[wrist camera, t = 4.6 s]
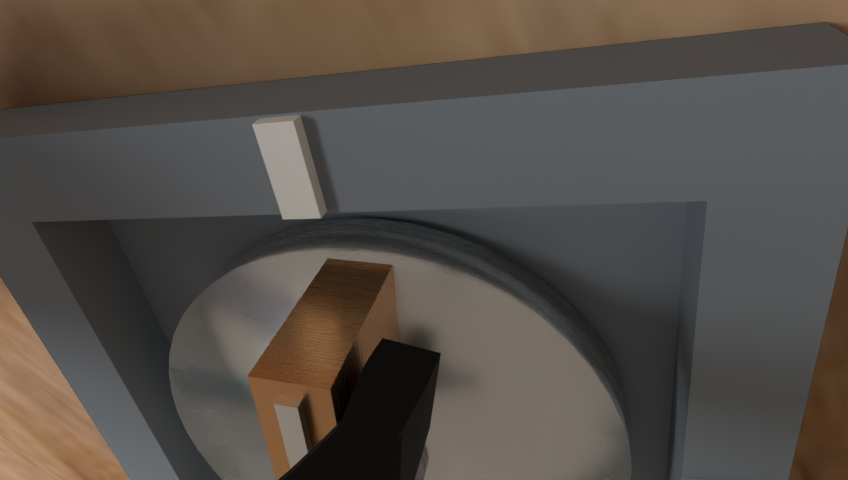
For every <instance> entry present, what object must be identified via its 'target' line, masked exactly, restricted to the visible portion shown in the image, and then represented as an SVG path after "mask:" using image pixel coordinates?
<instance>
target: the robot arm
mask: <svg viewBox="0 0 848 480" xmlns="http://www.w3.org/2000/svg"><path fill="white" fill-rule="evenodd" d="M440 356H441V353H439V352H435V351H431V350H427V349H423V348H419V347H416V346H412V345H408V344H404V343H400V342H396V341H392V340H388V339H385V338H382V339H381V341H380V342H379V344H378V345H377V347H376V348H375V349H374V351H373V352H372V354H371V356H370V357H369V359H368V360H367V362H366V363H365V365H364V367H363V369H362V371H361V374H360V376H359V378H358V381H357V383H356V386H355V388H354V390H353V393H352V395H351V397H350V400H349V402H348V405H347V407H346V410H345V412H344V414H343V417H342V419H341V421H340V422H339V423H338V424H337V425H336V426H335V427H334V428H333V429H332V430H331V431H330V432H329V433H328V434H327V435H326V436H325V437H324V438H323V439H322V440H321V441H320V442H319V443H318V444H317V445H315V446H314V447H313V448H312V449H311V450H310V451H309V452H308V453H307V454H306V455H305V456H304V457H303V458H302V459H301V460H300V461H299V462H297V463H296V464H295V465H294V466H293V467H292V468H291V469H290V470H289V471H287V472H286V473H285V474H284V475H283V476H282V477H281V478H279V479H278V480H415V477H416V474H417V470H418V467H419V463H420V460H421V457H422V453H423V450H424V446H425V443H426V439H427V436H428V432H429V429H430V423H431V416H432V410H433V403H434V396H435V390H436V383H437V376H438V370H439V363H440Z"/></svg>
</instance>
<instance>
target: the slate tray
mask: <svg viewBox="0 0 848 480" xmlns="http://www.w3.org/2000/svg"><path fill="white" fill-rule="evenodd" d="M343 218H361V219H383V220H390V221H397V222H404V223H411V224H416V225H420V226H424V227H428V228H432V229H436V230H439V231H443V232H447V233H450V234H453V235H456V236H458V237H461V238H463V239H466V240H469V241H471V242H474V243H477V244H479V245H482V246H484V247H486V248H488V249H490V250H492V251H494V252H496V253H498V254H500V255H502V256H503V257H505V258H507V259H509V260H511V261H513V262H515V263H517V264H518V265H520V266H521V267H523V268H524V269H526V270H527V271H529V272H530V273H532V274H533V275H535V276H536V277H538V278H539V279H541V280H542V281H544V282H545V283H546V284H547V285H548V286H550V287H551V288H552V289H553V290H554V291H556V292H557V293H558V294H559V295H560V296H561V297H563V298H564V299H565V300H566V301H567V302H569V303H570V304H571V305H572V307H573V308H574V309H575V310H576V311H577V312H578V313H579V314H580V315H581V316H582V318H583V319H584V320H585V321H586V322H587V323H588V324H589V325H590V326H591V328H592V329H593V330H594V332H595V333H596V335H597V336H598V338H599V339H600V341H601V342H602V344H603V345H604V347H605V348H606V349H607V351H608V353H609V355H610V357H611V359H612V361H613V363H614V365H615V367H616V370H617V372H618V374H619V376H620V379H621V383H622V386H623V390H624V393H625V397H626V402H627V412H628V423H629V438H630V452H631V467H632V474H631V480H789V476H790V471H791V467H792V463H793V459H794V454H795V450H796V446H797V442H798V437H799V433H800V429H801V425H802V420H803V416H804V412H805V408H806V403H807V399H808V395H809V391H810V386H811V382H812V378H813V374H814V369H815V365H816V361H817V357H818V352H819V348H820V344H821V340H822V335H823V331H824V327H825V323H826V319H827V314H828V310H829V306H830V302H831V297H832V293H833V289H834V285H835V280H836V276H837V272H838V268H839V263H840V259H841V255H842V251H843V246H844V242H845V238H846V234H847V229H848V36H847V35H845V34H844V33H842V32H841V31H839V30H838V29H836V28H834V27H833V26H831V25H830V24H828V23H827V22H823V23H813V24H804V25H794V26H785V27H775V28H766V29H756V30H747V31H738V32H728V33H719V34H709V35H700V36H690V37H681V38H671V39H662V40H653V41H643V42H634V43H624V44H615V45H605V46H596V47H586V48H577V49H568V50H558V51H549V52H539V53H530V54H520V55H511V56H501V57H492V58H483V59H473V60H464V61H454V62H445V63H435V64H426V65H417V66H407V67H398V68H388V69H379V70H369V71H360V72H350V73H341V74H332V75H322V76H313V77H303V78H294V79H284V80H275V81H265V82H256V83H247V84H237V85H228V86H218V87H209V88H199V89H190V90H180V91H171V92H162V93H152V94H143V95H133V96H124V97H114V98H105V99H95V100H86V101H77V102H67V103H58V104H48V105H39V106H29V107H20V108H10V109H5V110H3V111H0V277H1V278H2V280H3V281H4V283H5V284H6V286H7V288H8V289H9V291H10V292H11V294H12V295H13V297H14V298H15V300H16V302H17V303H18V305H19V306H20V308H21V309H22V311H23V313H24V314H25V316H26V317H27V319H28V320H29V322H30V323H31V325H32V327H33V328H34V330H35V331H36V333H37V334H38V336H39V338H40V339H41V341H42V342H43V344H44V345H45V347H46V349H47V350H48V352H49V353H50V355H51V356H52V358H53V359H54V361H55V363H56V364H57V366H58V367H59V369H60V370H61V372H62V374H63V375H64V377H65V378H66V380H67V381H68V383H69V384H70V386H71V388H72V389H73V391H74V392H75V394H76V395H77V397H78V399H79V400H80V402H81V403H82V405H83V406H84V408H85V410H86V411H87V413H88V414H89V416H90V417H91V419H92V420H93V422H94V424H95V425H96V427H97V428H98V430H99V431H100V433H101V435H102V436H103V438H104V439H105V441H106V442H107V444H108V446H109V447H110V449H111V450H112V452H113V453H114V455H115V456H116V458H117V460H118V461H119V463H120V464H121V466H122V467H123V469H124V471H125V472H126V474H127V475H128V477H129V478H130V480H222V479H221V478H220V477H219V476H218V474H217V473H216V472H215V471H214V470H213V469H212V468H211V467H210V465H209V464H208V463H207V461H206V460H205V459H204V458H203V456H202V455H201V454H200V452H199V451H198V450H197V448H196V446H195V445H194V443H193V441H192V440H191V438H190V437H189V435H188V433H187V432H186V430H185V427H184V425H183V423H182V421H181V419H180V417H179V414H178V412H177V409H176V406H175V402H174V399H173V396H172V392H171V385H170V379H169V353H170V349H171V344H172V340H173V335H174V333H175V331H176V328H177V326H178V324H179V322H180V320H181V317H182V316H183V314H184V313H185V312H186V310H187V309H188V308H189V306H190V305H191V304H192V302H193V301H194V300H195V298H196V297H197V296H198V295H199V294H200V293H201V292H202V291H203V290H204V289H205V288H206V287H207V285H208V284H209V283H210V282H211V281H212V280H213V279H214V278H215V277H216V276H217V275H218V274H219V273H220V271H221V270H222V269H223V268H224V267H225V266H226V265H227V264H228V263H229V262H230V261H232V260H233V259H234V258H235V257H236V256H237V255H238V254H239V253H241V252H242V251H243V250H244V249H246V248H248V247H249V246H251V245H253V244H254V243H256V242H257V241H259V240H261V239H262V238H264V237H267V236H269V235H272V234H274V233H277V232H279V231H282V230H284V229H287V228H290V227H294V226H298V225H302V224H306V223H311V222H315V221H323V220H333V219H343Z"/></svg>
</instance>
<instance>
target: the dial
mask: <svg viewBox="0 0 848 480" xmlns="http://www.w3.org/2000/svg"><path fill="white" fill-rule="evenodd" d="M382 338H385V339H388V340H392V341H396V342H400V343H404V344H408V345H412V346H416V347H419V348H423V349H427V350H431V351H435V352H439V353H441V356H440V363H439V370H438V376H437V383H436V390H435V396H434V403H433V410H432V416H431V423H430V429H429V432H428V436H427V439H426V443H425V446H424V450H423V453H422V457H421V460H420V463H419V467H418V470H417V474H416V477H415V480H631V474H632V467H631V452H630V438H629V423H628V412H627V402H626V397H625V393H624V390H623V386H622V383H621V379H620V376H619V374H618V372H617V370H616V367H615V365H614V363H613V361H612V359H611V357H610V355H609V353H608V351H607V349H606V348H605V347H604V345H603V344H602V342H601V341H600V339H599V338H598V336H597V335H596V333H595V332H594V330H593V329H592V328H591V326H590V325H589V324H588V323H587V322H586V321H585V320H584V319H583V318H582V316H581V315H580V314H579V313H578V312H577V311H576V310H575V309H574V308H573V307H572V305H571V304H570V303H569V302H567V301H566V300H565V299H564V298H563V297H561V296H560V295H559V294H558V293H557V292H556V291H554V290H553V289H552V288H551V287H550V286H548V285H547V284H546V283H545V282H544V281H542V280H541V279H539V278H538V277H536V276H535V275H533V274H532V273H530V272H529V271H527V270H526V269H524V268H523V267H521V266H520V265H518V264H517V263H515V262H513V261H511V260H509V259H507V258H505V257H503V256H502V255H500V254H498V253H496V252H494V251H492V250H490V249H488V248H486V247H484V246H482V245H479V244H477V243H474V242H471V241H469V240H466V239H463V238H461V237H458V236H456V235H453V234H450V233H447V232H443V231H439V230H436V229H432V228H428V227H424V226H420V225H416V224H411V223H404V222H397V221H390V220H383V219H361V218H343V219H333V220H323V221H315V222H311V223H306V224H302V225H298V226H294V227H290V228H287V229H284V230H282V231H279V232H277V233H274V234H272V235H269V236H267V237H264V238H262V239H261V240H259V241H257V242H256V243H254V244H253V245H251V246H249V247H248V248H246V249H244V250H243V251H242V252H241V253H239V254H238V255H237V256H236V257H235V258H234V259H233V260H232V261H230V262H229V263H228V264H227V265H226V266H225V267H224V268H223V269H222V270H221V271H220V273H219V274H218V275H217V276H216V277H215V278H214V279H213V280H212V281H211V282H210V283H209V284H208V285H207V287H206V288H205V289H204V290H203V291H202V292H201V293H200V294H199V295H198V296H197V297H196V298H195V300H194V301H193V302H192V304H191V305H190V306H189V308H188V309H187V310H186V312H185V313H184V314H183V316H182V317H181V320H180V322H179V324H178V326H177V328H176V331H175V333H174V335H173V340H172V344H171V349H170V353H169V379H170V385H171V392H172V396H173V399H174V402H175V406H176V409H177V412H178V414H179V417H180V419H181V421H182V423H183V425H184V427H185V430H186V432H187V433H188V435H189V437H190V438H191V440H192V441H193V443H194V445H195V446H196V448H197V450H198V451H199V452H200V454H201V455H202V456H203V458H204V459H205V460H206V461H207V463H208V464H209V465H210V467H211V468H212V469H213V470H214V471H215V472H216V473H217V474H218V476H219V477H220V478H221V479H222V480H278V479H279V478H281V477H282V476H283V475H284V474H285V473H286V472H287V471H289V470H290V469H291V468H292V467H293V466H294V465H295V464H296V463H297V462H299V461H300V460H301V459H302V458H303V457H304V456H305V455H306V454H307V453H308V452H309V451H310V450H311V449H312V448H313V447H314V446H315V445H317V444H318V443H319V442H320V441H321V440H322V439H323V438H324V437H325V436H326V435H327V434H328V433H329V432H330V431H331V430H332V429H333V428H334V427H335V426H336V425H337V424H338V423H339V422H340V421H341V419H342V417H343V414H344V412H345V410H346V407H347V405H348V402H349V400H350V397H351V395H352V393H353V390H354V388H355V386H356V383H357V381H358V378H359V376H360V374H361V371H362V369H363V367H364V365H365V363H366V362H367V360H368V359H369V357H370V356H371V354H372V352H373V351H374V349H375V348H376V347H377V345H378V344H379V342H380V341H381V339H382Z"/></svg>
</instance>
